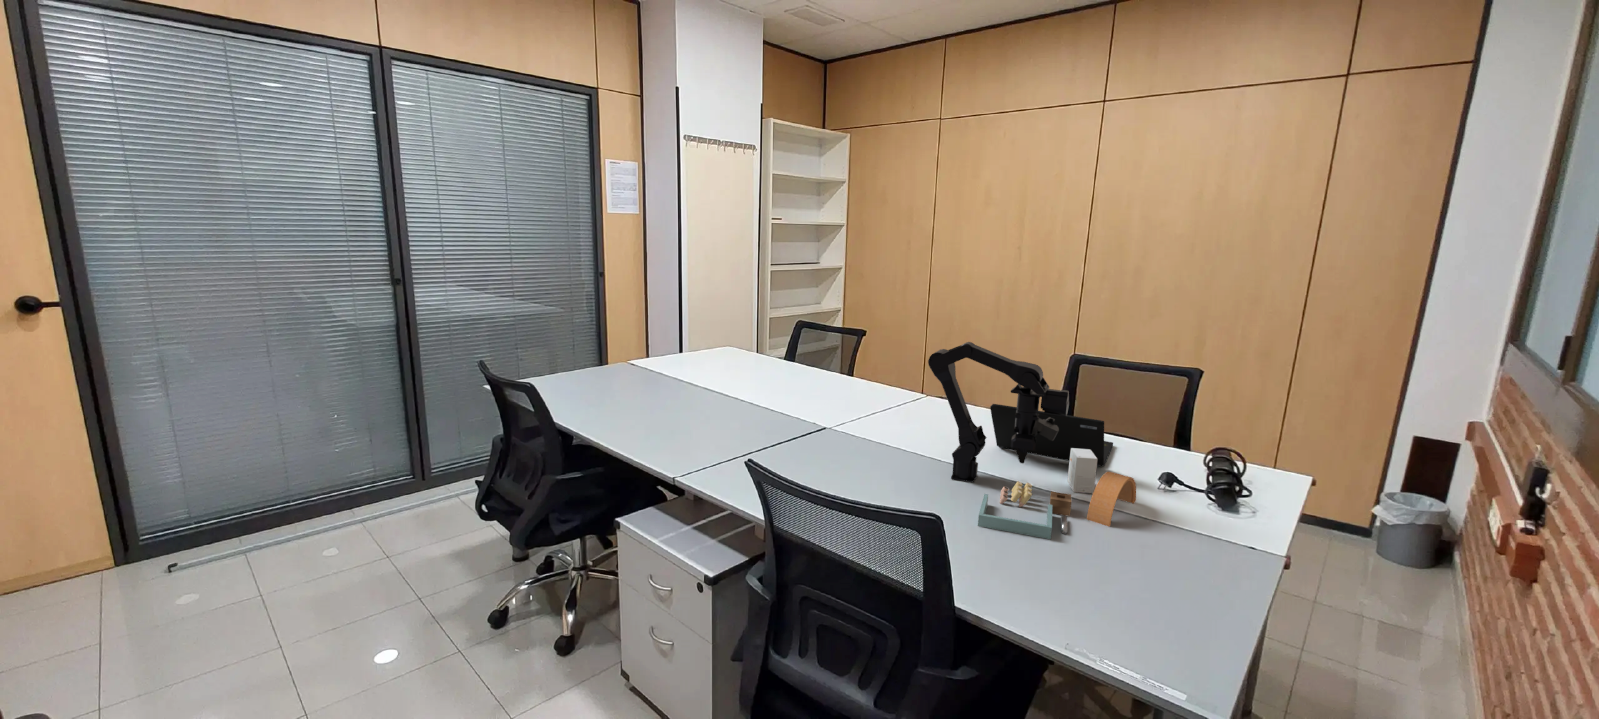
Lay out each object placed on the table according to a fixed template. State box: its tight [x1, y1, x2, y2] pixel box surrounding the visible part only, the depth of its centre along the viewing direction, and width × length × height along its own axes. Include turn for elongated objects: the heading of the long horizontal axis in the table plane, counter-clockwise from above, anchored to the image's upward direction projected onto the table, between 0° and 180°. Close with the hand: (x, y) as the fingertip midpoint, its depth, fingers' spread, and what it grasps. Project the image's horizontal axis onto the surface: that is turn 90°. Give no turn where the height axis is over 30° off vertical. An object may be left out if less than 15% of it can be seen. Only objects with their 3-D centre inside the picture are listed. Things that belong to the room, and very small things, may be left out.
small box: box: [1067, 448, 1098, 494], centre depth 181 cm, size 8×6×10 cm
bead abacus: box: [999, 480, 1033, 508], centre depth 172 cm, size 5×7×8 cm
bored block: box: [1049, 491, 1072, 517], centre depth 167 cm, size 5×5×4 cm
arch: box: [1086, 471, 1137, 528], centre depth 167 cm, size 6×20×10 cm, turn 135°
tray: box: [977, 493, 1053, 540], centre depth 161 cm, size 17×14×3 cm
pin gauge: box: [1060, 515, 1068, 535], centre depth 158 cm, size 1×8×1 cm, turn 158°
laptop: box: [989, 403, 1114, 467], centre depth 207 cm, size 33×38×19 cm
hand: (1021, 462), depth 179 cm, fingers closed
